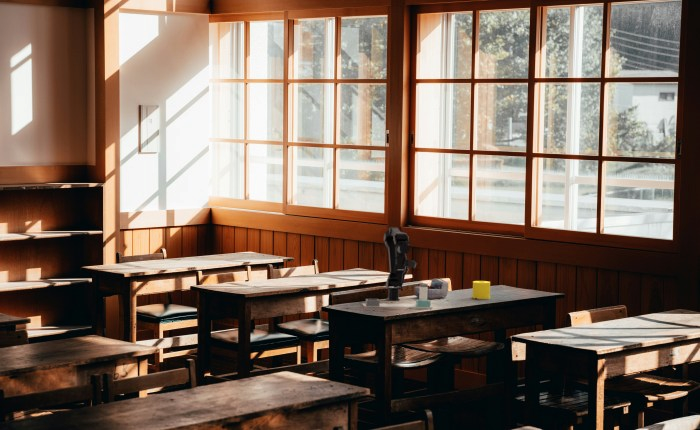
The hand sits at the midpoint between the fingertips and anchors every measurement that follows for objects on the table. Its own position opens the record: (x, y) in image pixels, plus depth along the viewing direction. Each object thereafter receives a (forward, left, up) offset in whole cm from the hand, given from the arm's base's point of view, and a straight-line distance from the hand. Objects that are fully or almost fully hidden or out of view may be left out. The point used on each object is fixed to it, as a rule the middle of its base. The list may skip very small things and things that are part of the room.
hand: (401, 283), depth 585 cm
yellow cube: (-31, +51, -12) cm, 61 cm away
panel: (+9, -3, -12) cm, 15 cm away
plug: (+11, +11, -11) cm, 19 cm away
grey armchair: (-30, +21, -12) cm, 38 cm away
